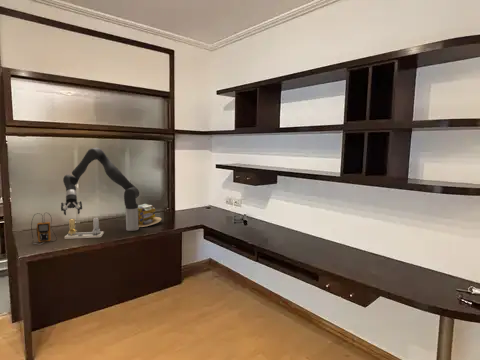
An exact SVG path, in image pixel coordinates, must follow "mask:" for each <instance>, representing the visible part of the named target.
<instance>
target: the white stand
mask: <svg viewBox="0 0 480 360" xmlns="http://www.w3.org/2000/svg"><path fill="white" fill-rule="evenodd" d="M99 220H100V219H99V218H98V217H94V218H92V222H93V223H92V224H93V225H92V227H93V229H92V231H86V232H85V231H83V232H82V231H81V232H78V231H77V232H76V233H75V234H72V236H71V234H68V233H67V234H66V235H64V239H65V240H66V239H68V240H72V239H87V238H88V239H89V238H102V237H103V235H104V233H105V231H101V228H100V223H99Z"/></svg>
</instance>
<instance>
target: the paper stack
mask: <svg viewBox="0 0 480 360" xmlns="http://www.w3.org/2000/svg"><path fill="white" fill-rule="evenodd" d="M138 217H139V228H143V227H144V228H145V227H148V226H152V225H155V224H158V223H159V222H161V220H162V218H161V217H159V216H156V208H155V207H153V205H152V204H148V203H143V204H138Z"/></svg>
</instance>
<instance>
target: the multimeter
mask: <svg viewBox="0 0 480 360" xmlns="http://www.w3.org/2000/svg"><path fill="white" fill-rule="evenodd" d="M37 214H39V215H41V216H42V217H41V222H38V223H36V236H37V241H38V242H39V243H36V242H35V243H34V241H32V242H31V244H32V245H38V246H39V245H43V244H46V242H51V243H53V242H55V240H54V241H51V239H52V237H51V236H52V234H51V230H52V232H53V235H54V236H55V239H56V240H58V238H57V236H56V234H55V232H54V229H52V228H53V227H51V223H52V221H53V220H52V215H51V214H50V213H49V212H47V214H48V215H49V216H50V221H46V220H45V218H44V215H45V214H46V212H44V214H43V215H42V213H38V212H37V213H36V215H37ZM34 218H35V215H32V220H31V221H33V220H34ZM30 225H31V226H30V227H31V230H30V231H33V227H32V226H33V222H31V224H30ZM31 236H32V238H34V235H33V233H31ZM41 242H42V243H41Z"/></svg>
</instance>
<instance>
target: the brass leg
mask: <svg viewBox="0 0 480 360" xmlns="http://www.w3.org/2000/svg"><path fill="white" fill-rule="evenodd" d="M68 221H69V223H68V224H69V225H68V226H69V230H68V233H67V234H71V236H72V234H75V233H78V229H76V219H75V218H70V219H68Z"/></svg>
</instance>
